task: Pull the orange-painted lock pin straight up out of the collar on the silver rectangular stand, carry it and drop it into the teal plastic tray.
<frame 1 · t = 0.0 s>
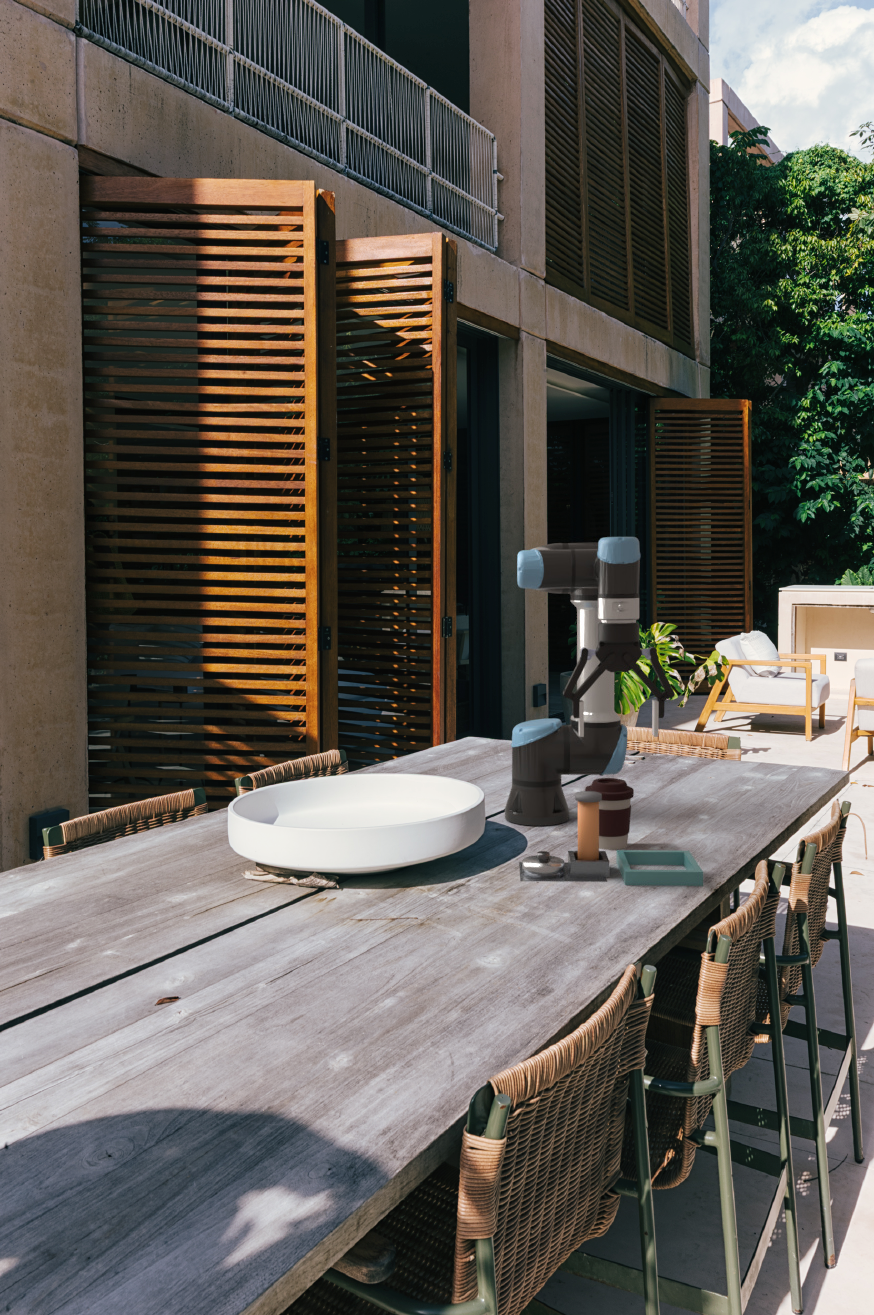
hand: (618, 735, 189), 28 cm above the table, fingers open, 13 cm apart
lock pin: (588, 871, 194), point 1 cm above the table, touching silver rectangular stand
tray: (658, 881, 192), on the table
coffee cup: (609, 852, 212), on the table
silver rectangular stand: (561, 879, 194), on the table
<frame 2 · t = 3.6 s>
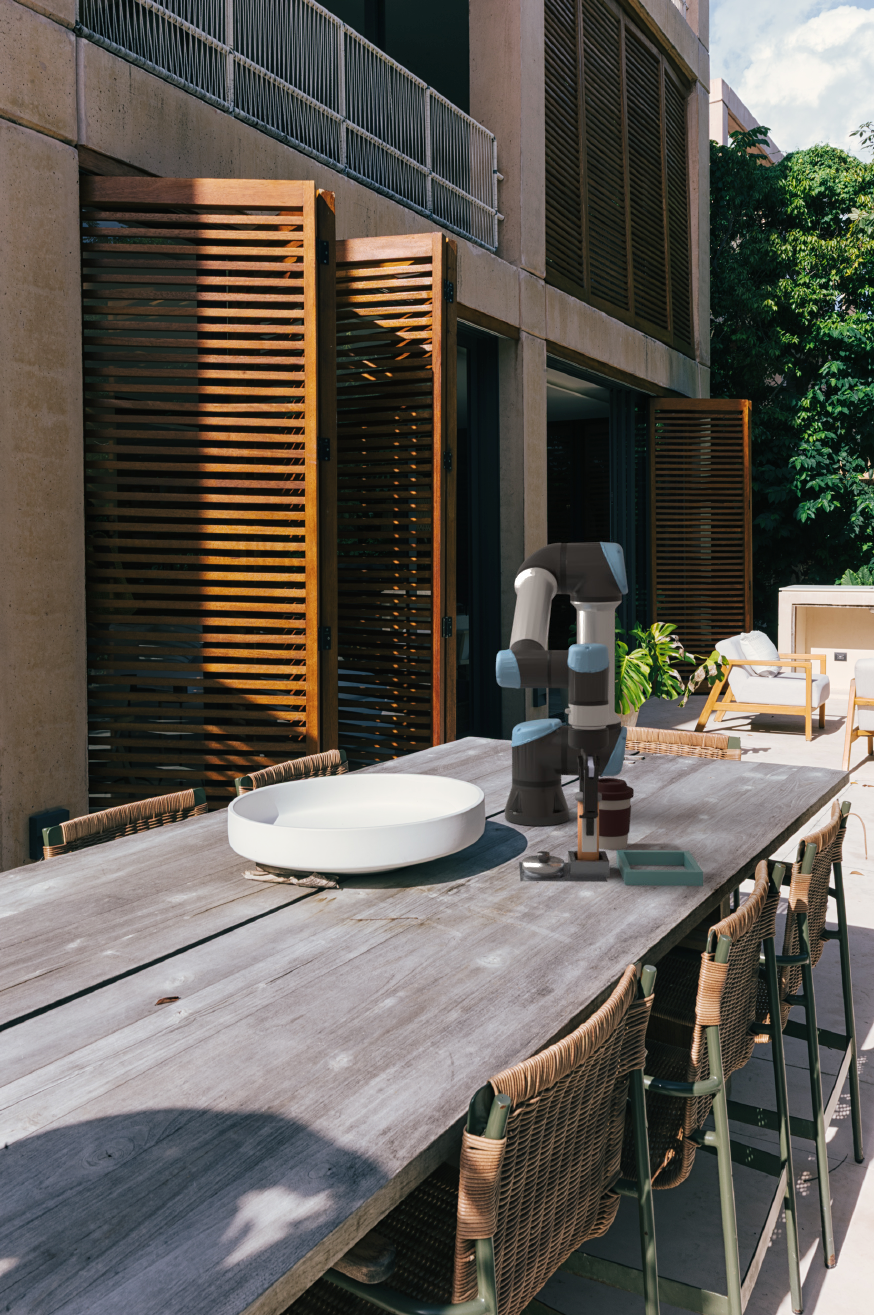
hand: (588, 847, 193), 6 cm above the table, fingers closed on lock pin, 4 cm apart
lock pin: (588, 871, 194), point 1 cm above the table, touching gripper, silver rectangular stand
everything else where it was.
when the fingers open (7 cm above the table, at t = 9.0 s): lock pin drops 1 cm, resting on tray.
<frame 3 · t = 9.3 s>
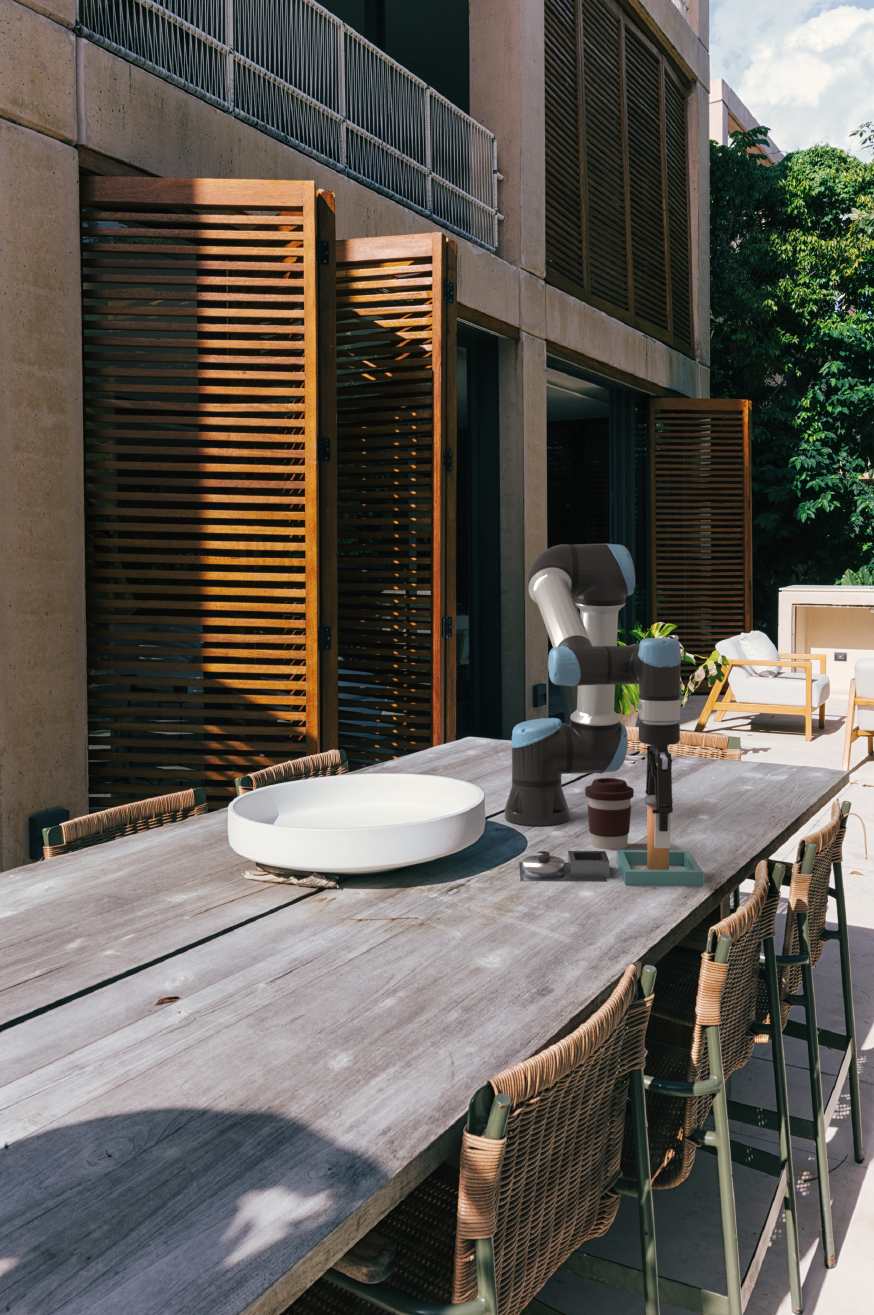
hand: (658, 840, 191), 8 cm above the table, fingers open, 8 cm apart
lock pin: (657, 875, 192), point 1 cm above the table, touching tray
everything else where it was.
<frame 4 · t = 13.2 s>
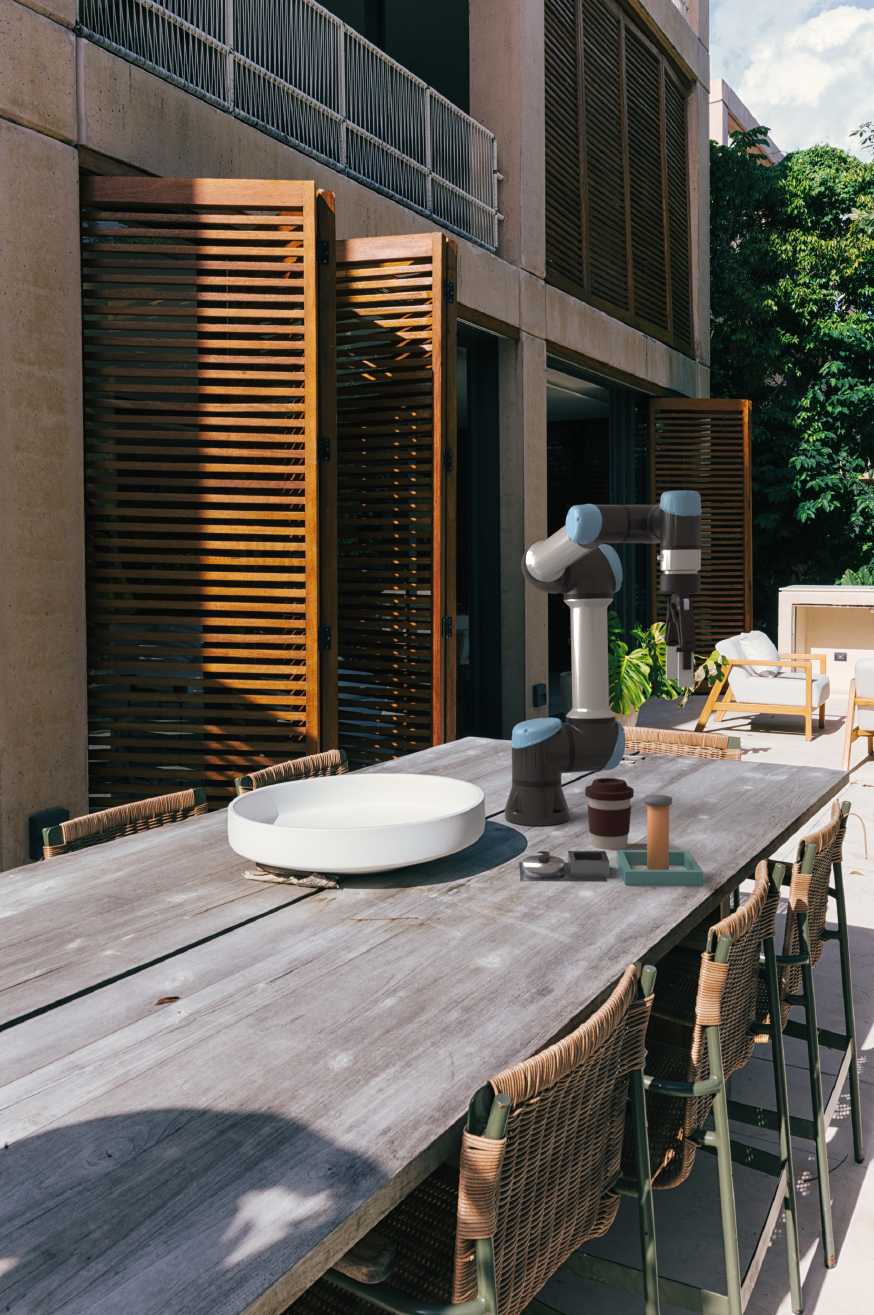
hand: (679, 683, 196), 37 cm above the table, fingers open, 13 cm apart
nothing on the table moved.
at the end: lock pin inside the target area on the tray (0.1 cm from its centre), point 1.0 cm above the tray's base; the gripper is holding nothing; lock pin touching tray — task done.
